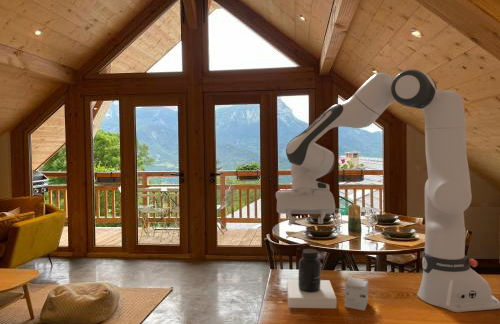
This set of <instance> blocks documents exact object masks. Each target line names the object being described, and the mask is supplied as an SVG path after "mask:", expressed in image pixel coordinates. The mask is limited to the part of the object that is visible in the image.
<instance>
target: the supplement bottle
mask: <svg viewBox="0 0 500 324" xmlns="http://www.w3.org/2000/svg"><path fill="white" fill-rule="evenodd" d="M318 254H319V252H318V250H317V249H314V248H304V249H302V252H301V257H302V258H300V260H299V261H298V279H297V280H298V286H299V289H300V290H302V291H305V292H316V291H318V290H319V289H320V280H322V279H321V278H322V277H321V273H322V271H321V270H322V267H321V265H322V263H321V260H320V259H318V258H319V255H318Z"/></svg>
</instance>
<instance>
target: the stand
mask: <svg viewBox="0 0 500 324" xmlns="http://www.w3.org/2000/svg"><path fill="white" fill-rule="evenodd" d="M286 295H287V296H286V297H287V303H288V304H287V305H288V308H290V309H291V308H293V309H297V308H298V309H337V302H338V301H337V296H336V294H335V291H334V289H333V286H332V284H331V281H330V280H329V279H328V280H327V279H326V280H325V279H320V289H319V290H318V291H316V292H305V291H302V290H300V289H299V286H298V279H286Z"/></svg>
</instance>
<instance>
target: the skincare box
mask: <svg viewBox="0 0 500 324" xmlns="http://www.w3.org/2000/svg"><path fill="white" fill-rule="evenodd" d="M369 283H370V281H369V279H364V278H358V277H352V276H349V277H348V278H347V280H346V282H345V285H344V286H345V287H344V307H345V308H349V309H354V310H359V311H366V308H367V305H368V300H369Z"/></svg>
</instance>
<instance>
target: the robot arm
mask: <svg viewBox="0 0 500 324" xmlns="http://www.w3.org/2000/svg"><path fill="white" fill-rule="evenodd" d="M394 103H398V104H399V105H401V106H405V107H407V108H411V109H412V108H414V109H419V110H421V111H422V112H423V116H424V138H425V139H424V140H425V141H424V144H425V145H424V146H425V158H426V168H427V169H426V170H427V180H426V181H425V184H424V218H425V220H424V221H425V223H424V224H425V225H424V226H425V228H424V230H425V232H424V250H423V251H422V276H421V282H420V286H419V289H418V291H417V296H418V298H419V299H420V300H422V301H423V302H425V303H428V304H430V305H432V306H436V307H439V308H444V309H446V310H448V311H451V312H453V313H454V312H455V313H461V312H462V313H464V312H474V311H475V312H476V311H486V310H489V311H490V310H497V309H500V301H499V299H498V298H497V297H495V296H494V295H493V294H492V289H491V286H490V284H489V282H488V281H487V280H486V279H485V278H484V277H482V276H481V275H480V274H479V273H477V272H476V271H475V270H474V269H473V268H476V267H477V266H478V264H479V263H478V261H477V260H475V258H470V257H469V256H467V255H465V250H466V248H465V247H466V226H465V211H466V210H468V208H469V207H470V206H471V203H472V198H473V196H472V188H471V176H470V168H469V163H468V154H467V125H466V124H467V122H466V113H465V108H464V107H465V106H464V103H463V98H462V96H461V94H460V93H458V92H456V91H454V90H448V89H447V90H446V89H442V90H441V89H438V88H437V83H436V82H435V80H434V79H433V78H432V77H430V75H428V74H427V73H426V72H423V71H421V70H417V69H406V70H402V71H401V72H400V73H398V74H397V75H396V76H395V77H393V76H392V75H390V74H388V73H386V72H376V73H375V74H373V75H372V76H371V77H369V79H367V80H366V81H365V82H364V83H363V84H362V85H361V86H360V87H359V88H358V89H357V90H356V91H355V93H354V94H353V95H352V96H350V98H348V99H347V100H345V101H343V102H341V103H337V104H334V105H332V106H330V107H329V108H328V109H326V111H324V112H323V113H321V114H320V116H319V117H317V118H316V119H315V120H314V121H312V123H311V124H310V125H309V126H308V127H306V128H305V129H304V130H303V131H302V132H301V133H300V134H297V135H296V136H295V137H293V138H292V139H291V140H290V141H289V142H288V144H287V145H286V148H285V153H286V158H287V160H288V161H289V163H290V164H291V165H290V169H291V170H290V173H291V178H292V181H291V189H279V190H278V191H276V192H275V199H276V200H277V201H276V212H277V213H278V214H281V215H282V214H286V216H287V218H288V219H289V220H290V222H289V223H290V224H291V225H295V224H296V217H294V216H292V214H295V215H296V214H297V215H299V214H301V215H304V214H305V215H309V214H310V215H311V214H312V215H313V214H314V215H320V216H319V217H318V218H317V222H318V223H317V224H318V225H323V224H324V219H325V217H326V215H333V214H334V213H335V211H336V203H335V197H334V195H333V193H332V192H331V191H330V184H328V183H325V182H321V181H319V180H317V179H320V178H323V177H324V176H326V175H328V174H330V173H331V172H332V171H333V170H334V168H335V163H336V158H335V154H334V152H333V151H331V150H330V149H328V148H327V147H324V146H321V145H320V144H318V143H316V142H317V141H318V140H319V139H320V138H321V137H323V135H325V134H326V133H327V132H328V131H330V130H331V129H334V128H338V127H343V128H344V127H345V128H346V127H347V128H352V129H362V128H363V129H364V128H367V127H369V126H371V125H372V124H373V123H375V122H376V121H377V119H379V117H380V116H381V115H382V114H383V113H384V112H385V111H386V110H387V109H388V107H389V106H390V105H392V104H394ZM471 267H473V268H471Z"/></svg>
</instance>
